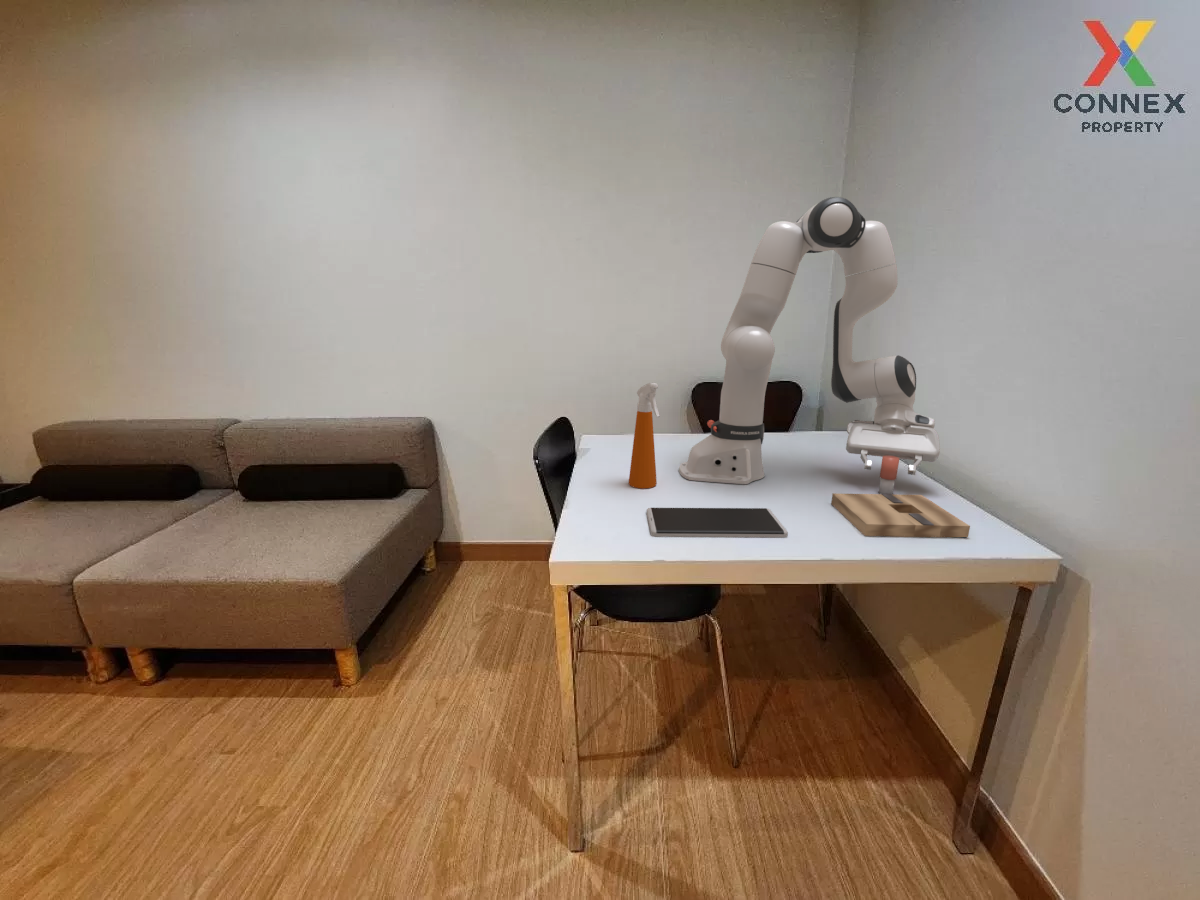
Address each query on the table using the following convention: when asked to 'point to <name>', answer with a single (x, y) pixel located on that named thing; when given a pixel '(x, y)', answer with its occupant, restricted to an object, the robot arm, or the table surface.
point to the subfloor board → (898, 516)
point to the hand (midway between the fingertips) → (889, 471)
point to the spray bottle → (644, 440)
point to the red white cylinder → (888, 474)
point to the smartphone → (714, 522)
